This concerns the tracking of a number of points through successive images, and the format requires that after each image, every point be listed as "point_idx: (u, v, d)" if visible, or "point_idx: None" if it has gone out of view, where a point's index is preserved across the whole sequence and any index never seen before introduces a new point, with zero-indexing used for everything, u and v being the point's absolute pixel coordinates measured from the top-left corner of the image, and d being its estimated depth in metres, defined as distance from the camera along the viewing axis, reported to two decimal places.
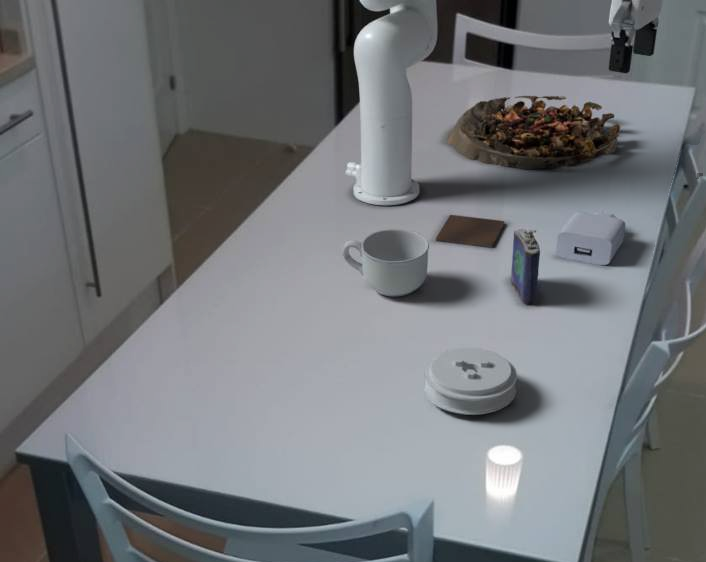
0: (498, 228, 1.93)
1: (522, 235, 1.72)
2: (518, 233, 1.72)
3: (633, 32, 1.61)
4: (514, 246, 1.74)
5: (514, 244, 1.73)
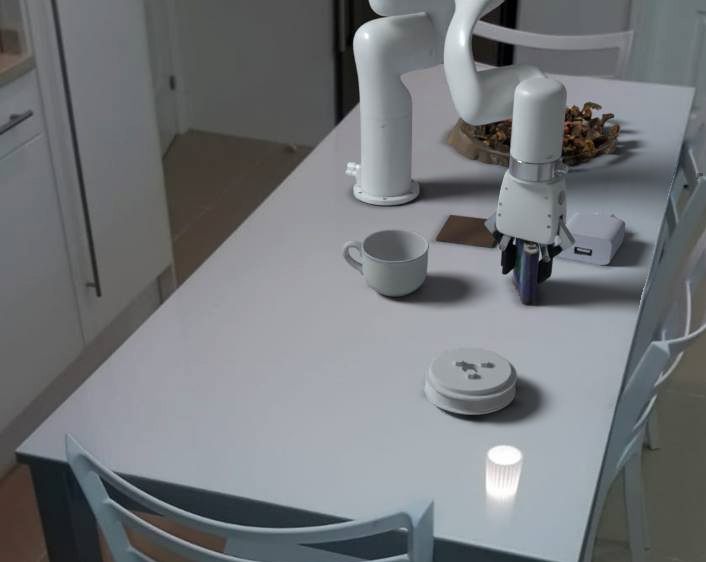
0: None
1: None
2: None
3: (506, 239, 1.70)
4: (516, 245, 1.74)
5: (516, 243, 1.73)
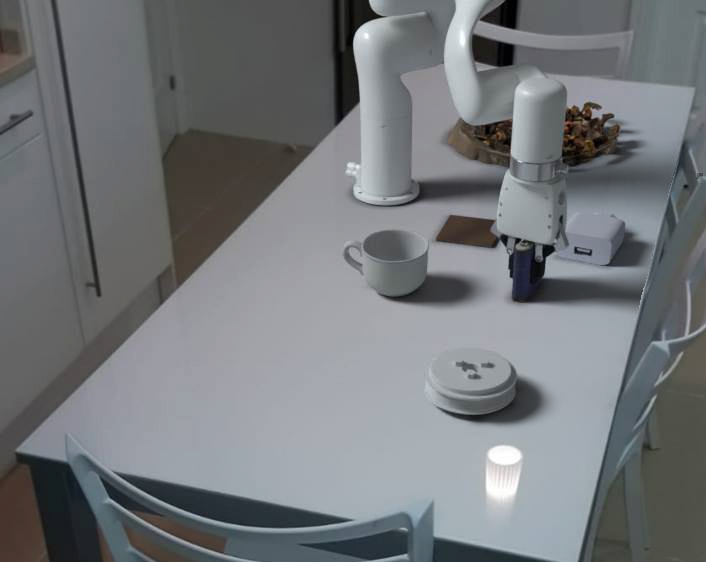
0: None
1: None
2: None
3: (511, 241, 1.70)
4: None
5: None
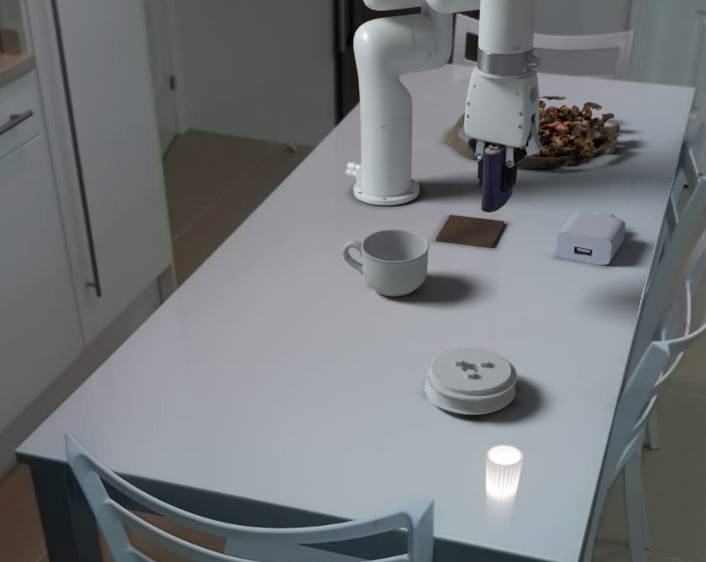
0: (498, 228, 1.93)
1: None
2: None
3: (480, 146, 1.59)
4: None
5: None
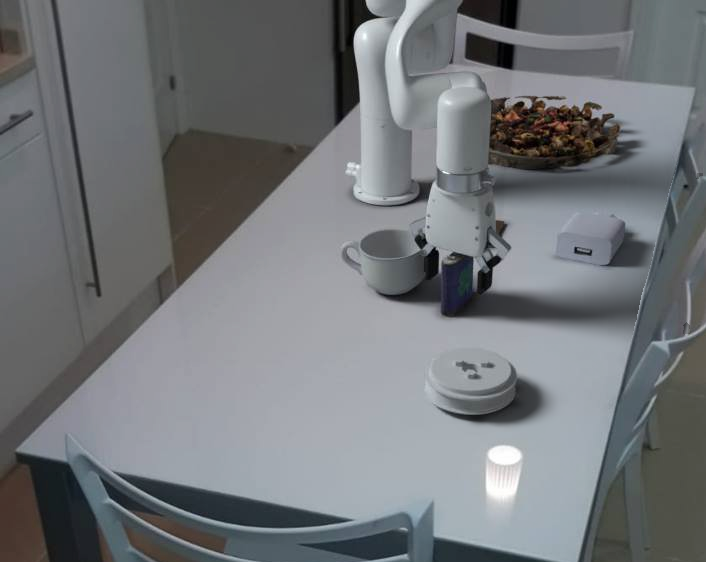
0: (498, 228, 1.93)
1: None
2: None
3: (430, 246, 1.67)
4: None
5: None
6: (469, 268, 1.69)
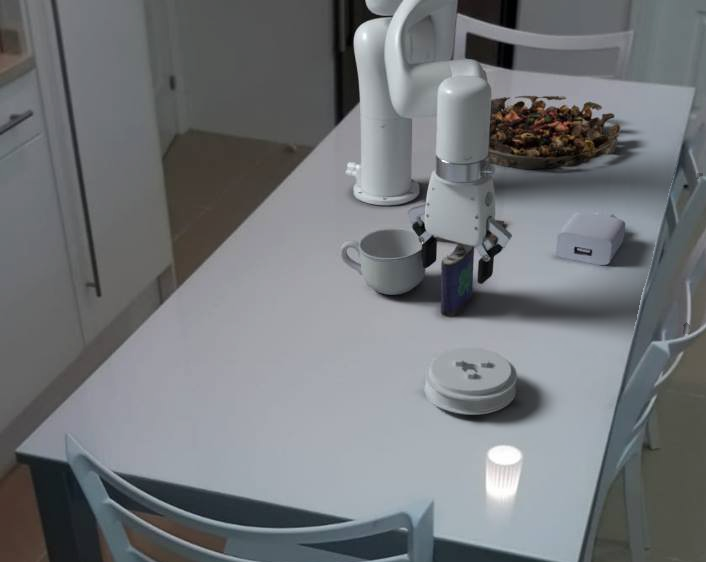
0: None
1: (464, 246, 1.69)
2: None
3: (428, 234, 1.66)
4: None
5: None
6: (469, 268, 1.69)
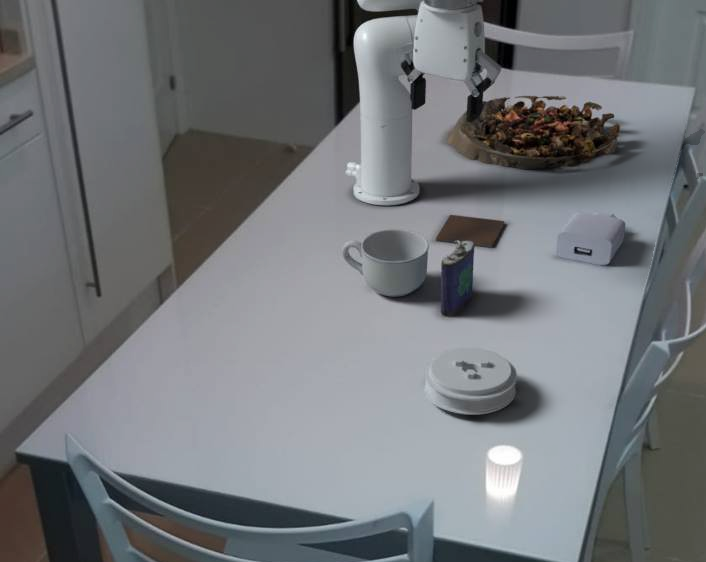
0: (498, 228, 1.93)
1: (464, 246, 1.69)
2: None
3: (416, 72, 1.64)
4: None
5: None
6: (469, 268, 1.69)
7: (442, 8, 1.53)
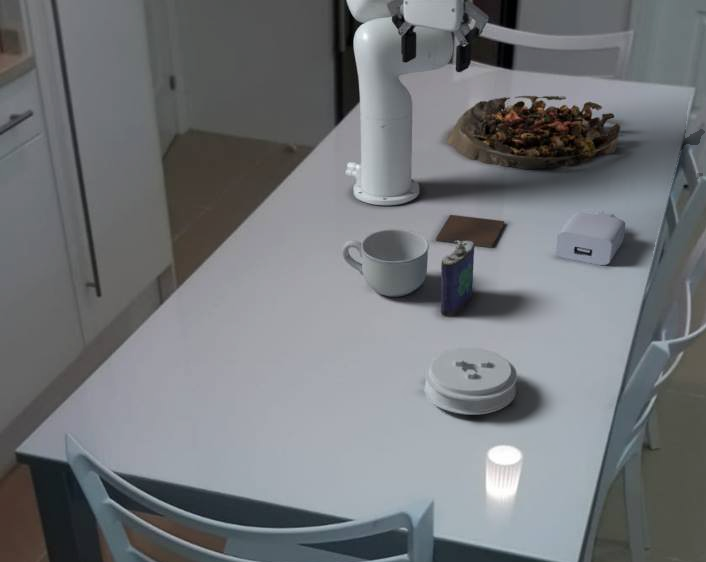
0: (498, 228, 1.93)
1: (464, 246, 1.69)
2: None
3: (407, 25, 1.69)
4: None
5: None
6: (469, 268, 1.69)
7: None
